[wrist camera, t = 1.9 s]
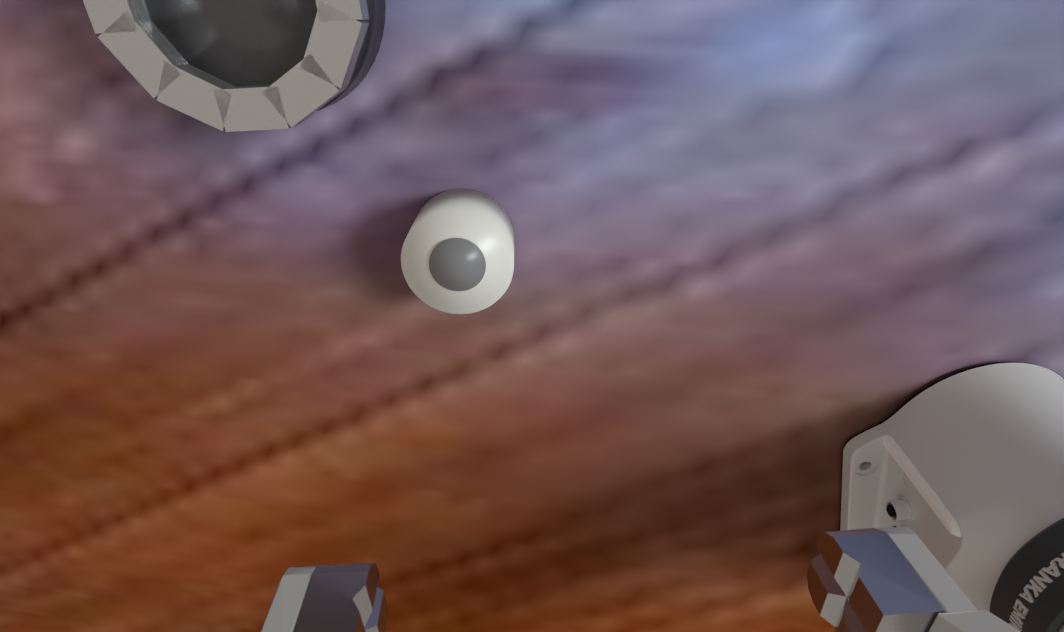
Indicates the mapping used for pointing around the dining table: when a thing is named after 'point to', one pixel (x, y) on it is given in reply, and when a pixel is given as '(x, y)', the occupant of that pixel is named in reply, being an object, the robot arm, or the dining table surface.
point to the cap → (459, 252)
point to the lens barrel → (243, 54)
